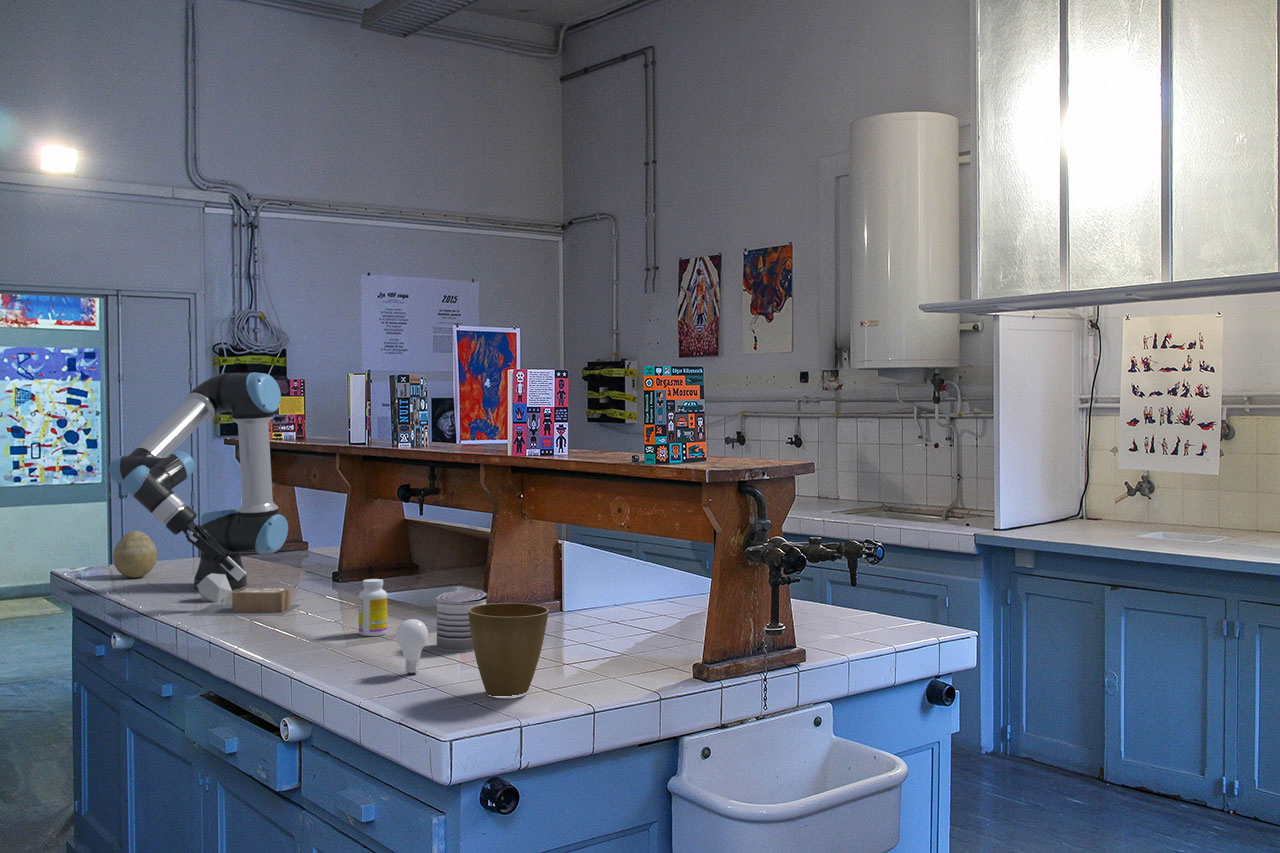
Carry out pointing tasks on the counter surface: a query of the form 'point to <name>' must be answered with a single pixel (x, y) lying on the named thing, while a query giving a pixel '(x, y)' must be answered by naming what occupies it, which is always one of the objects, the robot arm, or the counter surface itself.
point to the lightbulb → (412, 642)
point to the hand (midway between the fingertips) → (242, 577)
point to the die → (214, 588)
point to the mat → (227, 611)
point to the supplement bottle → (372, 608)
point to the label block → (261, 600)
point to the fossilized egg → (135, 554)
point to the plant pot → (507, 644)
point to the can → (456, 619)
